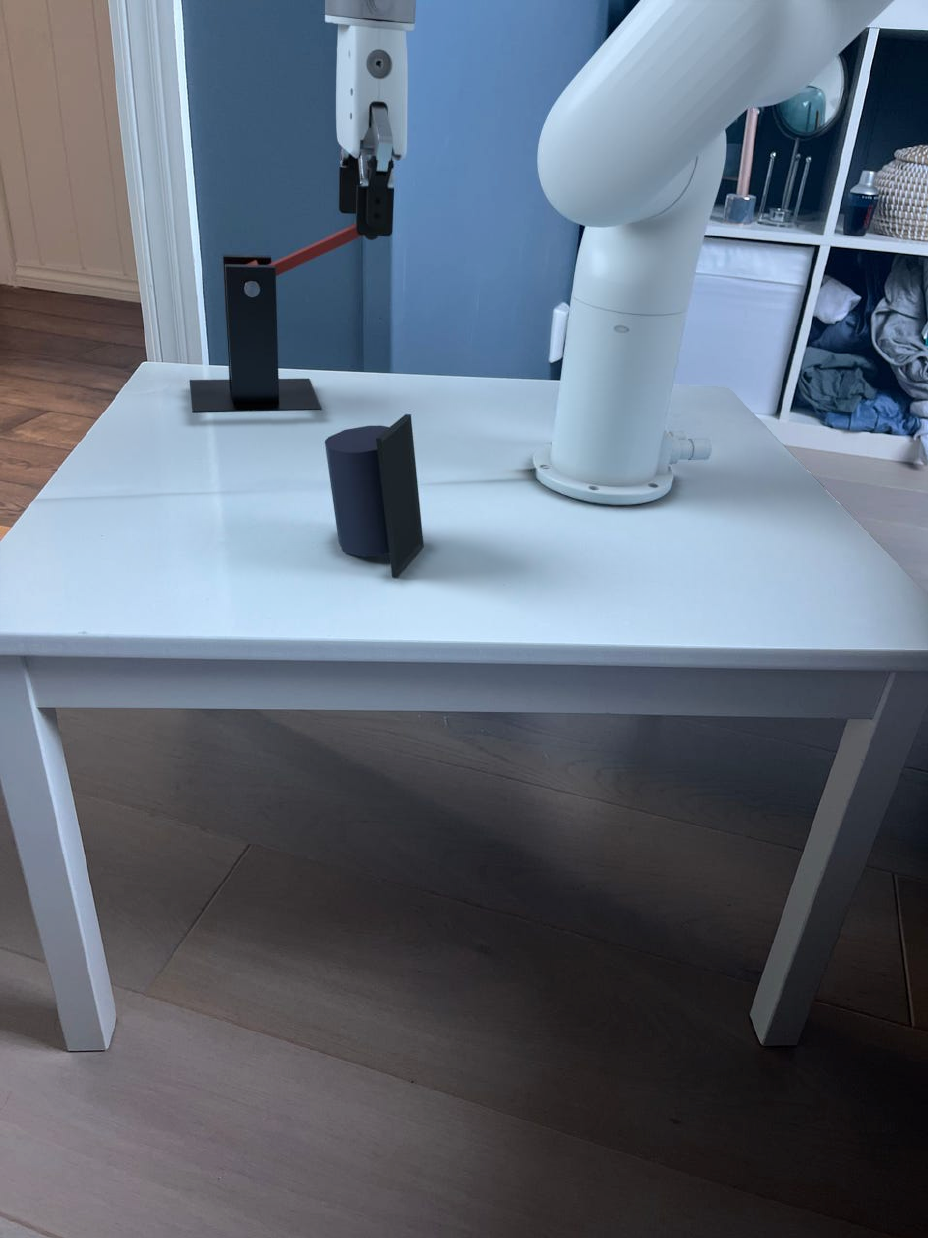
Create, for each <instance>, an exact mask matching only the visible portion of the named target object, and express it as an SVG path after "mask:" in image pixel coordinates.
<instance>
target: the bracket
mask: <svg viewBox="0 0 928 1238" xmlns="http://www.w3.org/2000/svg"><path fill="white" fill-rule="evenodd" d="M255 260H257V262H258V265H246V264H248V263H250V262H252V261H255ZM271 263H272V257H271V255H269V254H227V253H226V254H222V272H223V273H222V274H223V290H224V291H223V293H224V308H225V309H224V311H225V326H226V327H225V328H226V329H225V330H226V344H227V345H226V346H227V365H228V379H189V389H190V401H191V412H192V413H193V414H194V413H196V414H197V413H202V414H203V413H205V414H206V413H247V412H248V413H250V412H251V413H252V412H254V413H255V412H292V411H295V412H296V411H299V412H300V411H322V407H321V405H320V403H319V399H318V398H317V395H316V392H315V389H314V387H313V385H312V382H311V380H310V378H279V377H280V376H279V341H278V339H279V337H278V306H277V305H278V304H277V276H276V268H275V265H268V264H271Z"/></svg>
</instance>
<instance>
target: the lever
mask: <svg viewBox="0 0 928 1238" xmlns="http://www.w3.org/2000/svg"><path fill="white" fill-rule="evenodd" d="M361 237H365V238H366V239H367V240H368V241H369V240H370V241H374V240H376V239H377V238H378V237H379V236H363V235H359V234H358V233H357V232H356V217H355V218H354V223H353V224H352V225H350V226H348V227H346V228H344V229H341V230H339V231H337V232H335V233H332V234H331V235H328V236H326V237H324V238H322V239H320V240H318V241H316V242H314V243H311V244H309V245H307V246H305V247H303V248H301V249H299V250H296V251H294V252H292V253H290V254H287V255H286V256H283V257H282V258H279V259H277V260H275V261H273V262H271V264H268V265H275V268H276V277H278V276H280V275H282V274H284V273H286V272H289V271H290V270H293V269H295V268H297V267H299V266H301V265H303V264H306V263H308V262H310V261H312V260H314V259H316V258H319V257H321V256H323V255H325V254H327V253H329V252H332V251H334V250H335V249H336V250H337V249H338V248H340V247H342V246H344V245H346V244H348V243H350V242H353V241H355V240H357V239H359V238H361ZM246 265H258V262H257V260H255V261H252V262H250V263H248V264H246Z"/></svg>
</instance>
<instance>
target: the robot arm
mask: <svg viewBox="0 0 928 1238" xmlns="http://www.w3.org/2000/svg"><path fill="white" fill-rule="evenodd" d="M893 2H895V0H639V1H638V2H637V4H636V5H635V6H634V7H633V8H632V10H631V11H630V12H629V13H628V14H627V15H626V16H625V18H624V19H623V20H622V21H621V22H620V24H619V25H618V26H617V27H616V28H615V29H614V30H613V32H612V33H611V34H610V35H609V36H608V38H607V39H606V40H605V41H604V42H603V43H602V45H601V46H600V47H599V48H598V49H597V50H596V52H595V53H594V54H593V55H592V56H591V58H590V59H588V61H587V62H586V63H585V65H584V66H583V67H582V68H581V69H580V70H579V72H578V73H577V74H576V75H575V76H574V78H573V79H572V80H571V81H570V82H569V83H568V85H567V86H566V87H565V89H563V91H562V92H561V94H560V95H559V96H558V98H557V99H556V101H555V103H554V104H553V105H552V107H551V109H550V112H549V113H548V115H547V116H546V119H545V122H544V124H543V125H542V129H541V131H540V132H541V133H540V136H539V140H538V144H537V145H538V146H537V157H536V161H537V163H536V165H537V173H538V179H539V182H540V185H541V186H540V187H541V189H542V191H543V193H544V195H545V197H546V199H547V200H548V202H549V203H550V205H551V206H552V207H553V208H554V209H555V210H556V211H557V212H558V213H559V214H560V215H561V216H562V217H564V218H566V219H567V220H569V221H571V222H572V223H575V224H577V225H581V226H583V227H584V229H583V233H582V237H581V240H580V245H579V248H578V252H577V258H576V262H575V268H574V274H573V282H572V290H571V294H570V302H569V309H568V318H567V325H566V334H565V341H564V350H563V357H562V364H561V372H560V373H561V374H560V379H559V387H558V395H557V404H556V409H555V418H554V419H555V420H554V425H553V433H552V435H553V436H552V442H549V443H546V444H545V445H543V446H541V447H540V448H538V449H537V450H535V452H534V454H533V456H532V463H533V465H534V467H535V468H531V470H532V474H533V475H534V477H535V478H536V479H537V480H538V481H539V482H540V483H541V484H542V485H544V486H546V487H547V488H549V489H550V490H552V491H554V492H556V493H558V494H561V495H564V496H566V497H570V498H572V499H576V500H580V501H584V502H589V503H593V504H602V505H614V506H617V505H618V506H619V505H621V506H622V505H623V506H624V505H628V506H630V505H639V504H644V503H650V502H653V501H657V500H659V499H661V498H662V497H664V496H666V495H667V494H668V493H669V492H670V490H671V489H672V484H673V481H674V471H673V469H672V467H671V465H675V464H677V463H678V462H679V461H680V460H687V461H706V460H708V459H710V457H711V454H712V443H711V440H710V439H709V437H708V438H707V437H706V438H705V437H704V438H701V437H700V438H686V434H685V432H684V431H677V430H676V431H669V432H668V431H667V430H666V424H667V419H668V415H669V409H670V404H671V398H672V393H673V388H674V382H675V377H676V372H677V367H678V362H679V361H678V360H679V357H680V352H681V351H680V350H681V346H682V341H683V336H684V332H685V325H686V320H687V315H688V309H689V307H690V302H691V297H692V291H693V287H694V281H695V276H696V273H697V272H696V271H697V267H698V263H699V258H700V254H701V251H702V246H703V243H704V239H705V235H706V232H707V229H708V228H707V227H708V225H709V222H710V218H711V216H712V213H713V210H714V206H715V203H716V199H717V197H718V193H719V189H720V186H721V184H722V180H723V175H724V169H725V165H726V159H727V134H726V129H727V128H728V127H730V126H731V125H732V124H733V123H734V122H735V120H737V119H738V118H739V117H740V116H741V115H742V114H743V113H744V112H746V111H747V110H748V109H754V108H762V107H770V106H774V105H778V104H780V103H782V102H785V101H787V100H789V99H792V98H793V97H795V96H796V95H798V94H799V93H800V92H801V91H803V90H804V89H806V88H807V87H808V86H809V85H810V84H811V83H812V82H813V81H814V80H815V79H816V78H817V77H818V76H819V75H820V74H821V73H822V72H823V71H824V70H825V68H827V67H828V66H829V65H830V63H832V61H833V60H834V59H836V57H838V55H840V54H841V52H842V51H843V50H845V48H846V47H847V46H848V45H850V43H852V42H853V41H854V40H855V39H856V38H857V37H858V36H859V35H860V34H861V33H862V32H863V31H864V30H865V29H866V28H867V27H868V26H869V25H871V24H872V22H874V21H875V20H877V18H878V17H879V16H880V15H881V14H882V13H883V12H884V11H885V10H886V9H887V8H888V7H889V6H890V5H892V4H893ZM416 9H417V0H324V22H325V23H328V24H335V25H337V45H336V78H335V84H336V85H335V90H336V91H335V125H336V126H335V127H336V128H335V129H336V139H337V142H338V144H339V145H340V146H341V149H340V150H341V151H340V157H339V160H340V166H339V167H338V211H339V212H340V213H342V214H347V215H348V214H350V215H351V214H352V215H355V218H356V232H357V233H358V234H359V235H363V236H362V237H365V236H378V237H390V236H392V234H393V228H394V227H393V226H394V208H395V207H394V205H395V204H394V203H395V174H394V173H395V172H394V168H395V163H394V160H395V161H396V162H397V161H398V162H402V161H403V160H404V159H405V158H406V157H407V152H408V103H409V102H408V100H409V99H408V98H409V97H408V95H409V94H408V93H409V92H408V91H409V86H408V84H409V74H408V73H409V71H408V69H409V67H408V65H409V63H408V43H407V31H409V32H410V31H412V32H413V31H415V27H416ZM393 159H394V160H393Z"/></svg>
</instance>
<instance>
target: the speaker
mask: <svg viewBox="0 0 928 1238" xmlns="http://www.w3.org/2000/svg"><path fill="white" fill-rule="evenodd" d="M412 421H413V420H412V413H411V414H410V413H405V414H404V415H403V416H401V417H400V418H399V419H398V420H396V421H395V422H394V423H392V425H390V426H385V425H365V426H364V425H363V426H358V427H353V428H347V429H346V428H345V429H343V430H341V431H339V432H337V433H335V434H331V435H330V436H328V437H327V438H325V441H324V447H325V453H326V460H327V461H326V462H327V469H328V475H329V483H330V489H331V496H332V504H333V510H334V519H335V526H336V533H337V540H338V544H339V546H340V549H341V550H342V553H343V552H344V553H347V554H351V555H354V556H358V557H369V558H370V557H372V558H373V557H377V556H383V555H388V554H389V562H390V570H391V578H395V579H398V578H399V577H400V576H401V574H402V573H403V572H404V571H405V569H406V568H408V566H409V565H410V564H411V563H412V561H413V560H414V559H415V558H416V556H417V555H418V554H419V553H420V552H421V551H422V550H423V549H424V548H425V545H424V544H425V543H424V534H423V525H422V515H421V504H420V495H419V494H420V493H419V485H418V483H419V482H418V474H417V463H416V455H415V443H414V433H413V423H412Z"/></svg>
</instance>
